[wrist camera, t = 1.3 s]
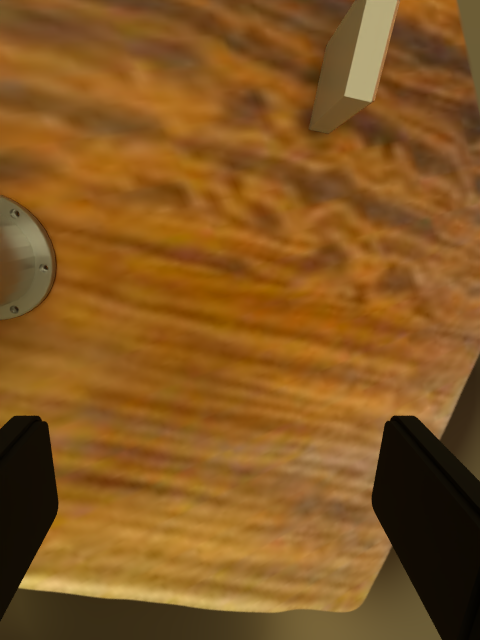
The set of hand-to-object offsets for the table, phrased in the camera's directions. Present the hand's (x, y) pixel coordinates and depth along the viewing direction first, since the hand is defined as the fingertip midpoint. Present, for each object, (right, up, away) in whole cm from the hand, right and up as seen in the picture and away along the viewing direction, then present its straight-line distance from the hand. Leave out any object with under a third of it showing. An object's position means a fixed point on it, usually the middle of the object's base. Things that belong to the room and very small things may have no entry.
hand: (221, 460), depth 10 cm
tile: (+9, +25, +23) cm, 36 cm away
